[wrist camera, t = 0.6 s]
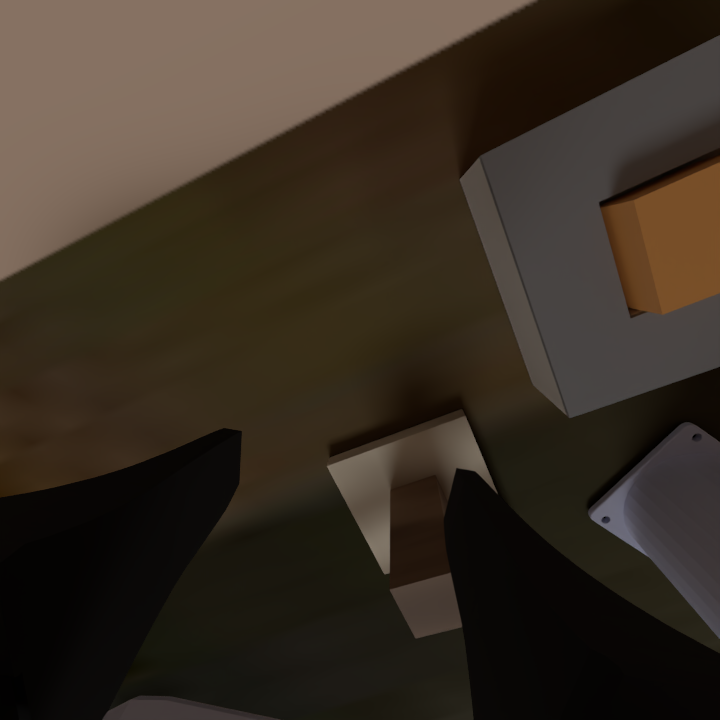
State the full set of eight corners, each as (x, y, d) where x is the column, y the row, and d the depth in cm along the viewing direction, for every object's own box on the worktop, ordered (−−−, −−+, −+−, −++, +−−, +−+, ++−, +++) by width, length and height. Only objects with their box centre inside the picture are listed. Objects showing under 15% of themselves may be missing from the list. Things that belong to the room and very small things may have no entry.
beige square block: (510, 525, 23) (515, 536, 22) (384, 562, 25) (384, 574, 24) (462, 408, 21) (465, 415, 21) (329, 457, 23) (326, 466, 22)
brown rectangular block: (453, 513, 22) (479, 622, 16) (408, 527, 23) (415, 638, 16) (435, 474, 22) (455, 571, 15) (390, 489, 22) (389, 589, 16)
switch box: (763, 299, 18) (877, 312, 14) (532, 384, 21) (569, 418, 16) (718, 51, 16) (841, -27, 11) (459, 179, 18) (480, 155, 14)
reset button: (716, 262, 16) (795, 264, 13) (612, 304, 16) (662, 314, 13) (695, 162, 15) (775, 137, 12) (585, 211, 16) (633, 200, 12)
